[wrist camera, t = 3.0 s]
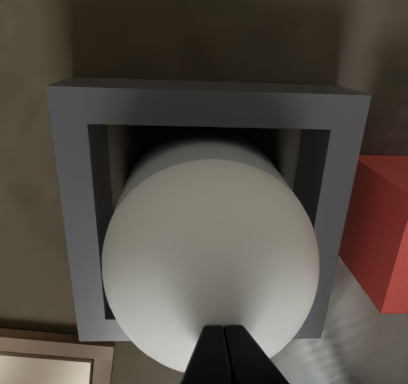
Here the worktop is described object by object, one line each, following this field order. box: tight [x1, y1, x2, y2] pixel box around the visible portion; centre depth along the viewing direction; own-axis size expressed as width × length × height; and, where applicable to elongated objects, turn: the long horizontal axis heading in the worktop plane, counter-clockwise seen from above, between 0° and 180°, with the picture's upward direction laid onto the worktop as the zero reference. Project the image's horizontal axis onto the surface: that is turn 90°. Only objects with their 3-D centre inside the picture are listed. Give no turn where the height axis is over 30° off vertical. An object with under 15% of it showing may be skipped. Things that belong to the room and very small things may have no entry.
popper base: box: [46, 77, 408, 341], centre depth 12 cm, size 14×9×4 cm, turn 88°
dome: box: [102, 130, 319, 372], centre depth 10 cm, size 6×6×6 cm
